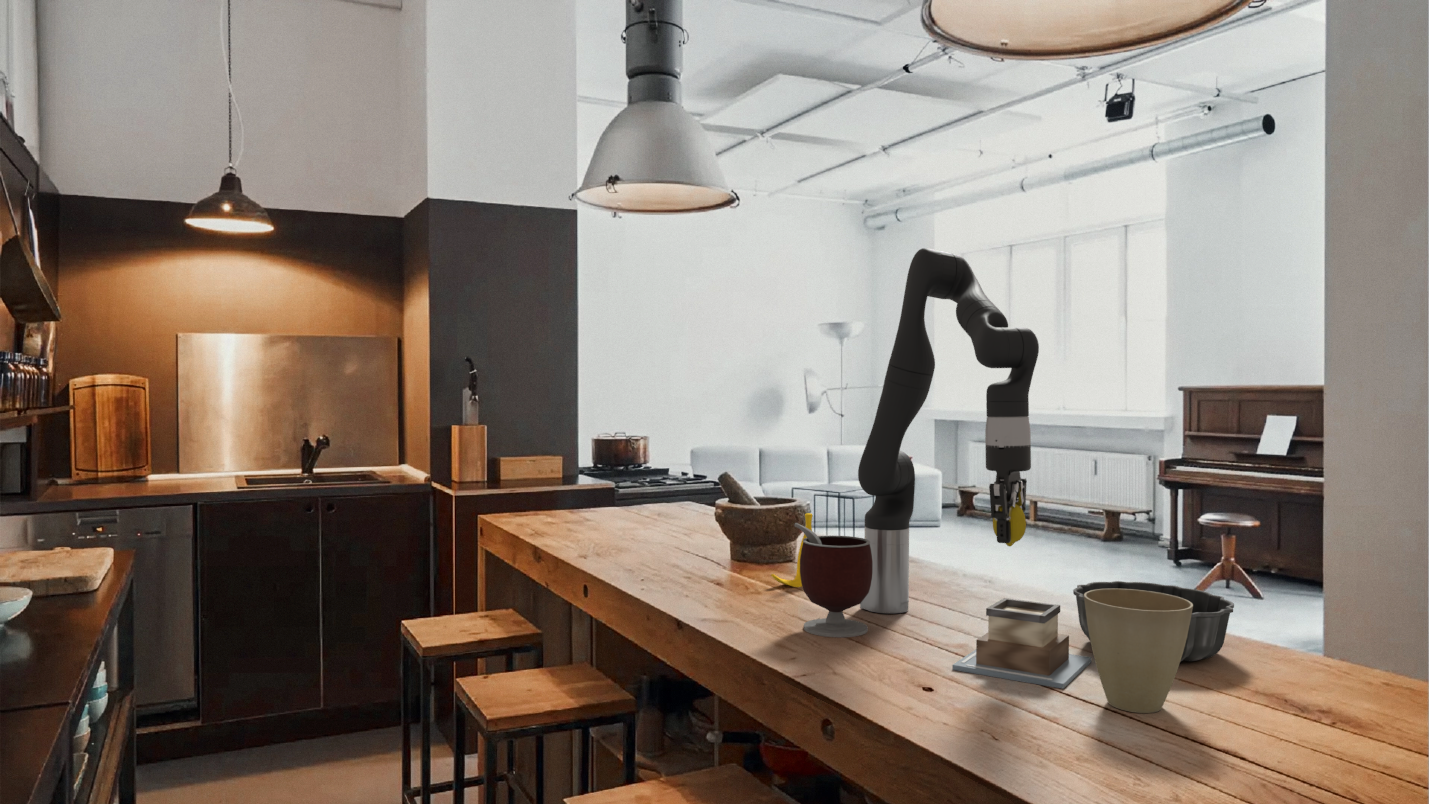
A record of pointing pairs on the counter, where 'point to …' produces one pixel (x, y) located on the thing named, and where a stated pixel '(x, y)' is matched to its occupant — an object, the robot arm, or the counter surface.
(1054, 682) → the board
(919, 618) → the counter surface
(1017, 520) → the lemon
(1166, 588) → the bundt pan
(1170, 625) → the plant pot
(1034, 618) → the block tower
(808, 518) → the banana peel
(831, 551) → the mate gourd
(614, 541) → the counter surface
